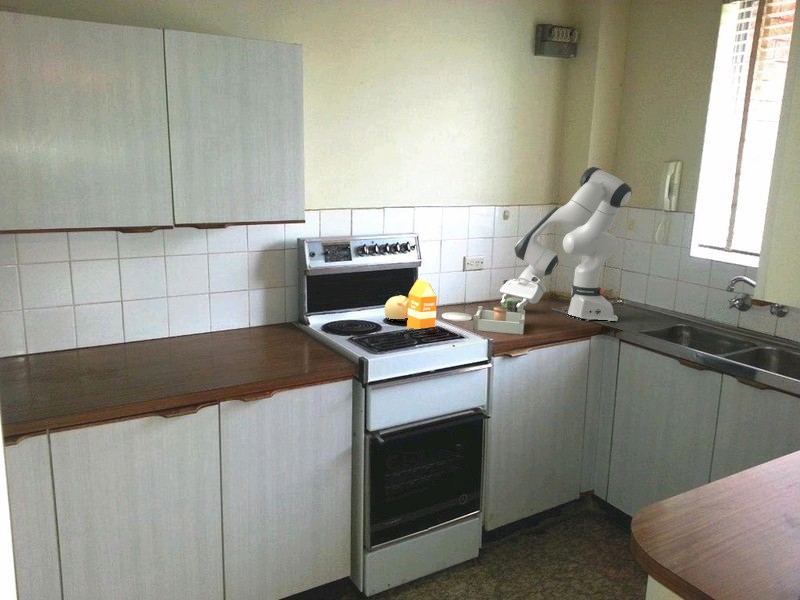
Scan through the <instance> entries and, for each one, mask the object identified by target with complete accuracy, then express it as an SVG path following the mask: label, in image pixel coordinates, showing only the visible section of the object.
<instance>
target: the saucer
mask: <svg viewBox="0 0 800 600" xmlns="http://www.w3.org/2000/svg"><path fill="white" fill-rule="evenodd" d="M441 317H442V319H444V320H447V321H452V322H469V321H471V320H472V319H473V316H472V315H471V314H469V313H465V312H458V311H457V312H456V311H455V312H453V311H452V312H451V311H450V312H443V313H442V314H441Z"/></svg>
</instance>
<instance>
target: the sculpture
mask: <svg viewBox="0 0 800 600" xmlns="http://www.w3.org/2000/svg"><path fill="white" fill-rule="evenodd" d="M408 300H409V297H408V296H405V295H403V294H402V295H401V294H400V295H395V296H392V297H390V298H389V299H388V300H387V301H386V303H385V305H384V314H385V317H386V318H387V319H388V318H389V319H388V320H390V319H405V318H408Z"/></svg>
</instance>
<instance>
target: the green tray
mask: <svg viewBox="0 0 800 600" xmlns="http://www.w3.org/2000/svg"><path fill="white" fill-rule="evenodd" d="M525 317H526V310H525V309H523V310H521V313H512V312H506V321H495V320H494V310H489V309H488V310H487V309H483V306H482V305H478V307H477V312H476V314H474V315H473V325H472V330H473V331H479V332H480V331H482V332H489V333H502V334H510V335H511V334H512V335H524V328H525Z"/></svg>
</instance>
